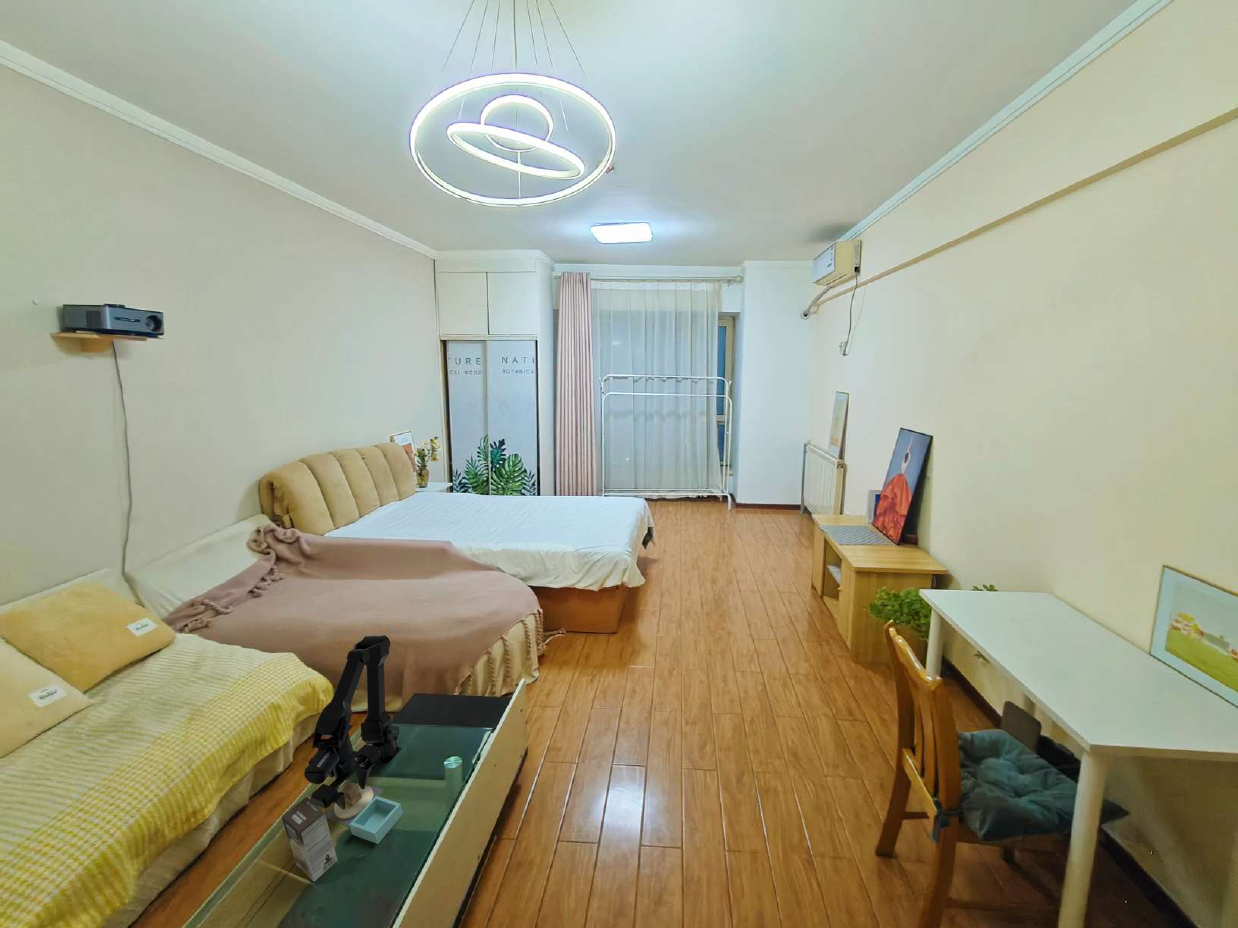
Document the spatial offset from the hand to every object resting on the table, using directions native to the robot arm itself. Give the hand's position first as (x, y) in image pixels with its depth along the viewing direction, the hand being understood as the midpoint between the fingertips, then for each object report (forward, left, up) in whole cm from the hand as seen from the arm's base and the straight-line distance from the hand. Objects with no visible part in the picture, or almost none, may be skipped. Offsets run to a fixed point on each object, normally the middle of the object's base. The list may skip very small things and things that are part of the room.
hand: (353, 798), depth 146 cm
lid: (0, 0, -2) cm, 2 cm away
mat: (0, 0, -2) cm, 2 cm away
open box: (+3, +12, -2) cm, 13 cm away
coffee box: (+16, +5, -2) cm, 17 cm away
